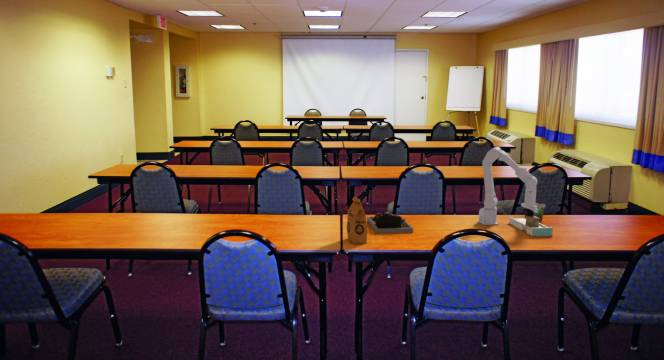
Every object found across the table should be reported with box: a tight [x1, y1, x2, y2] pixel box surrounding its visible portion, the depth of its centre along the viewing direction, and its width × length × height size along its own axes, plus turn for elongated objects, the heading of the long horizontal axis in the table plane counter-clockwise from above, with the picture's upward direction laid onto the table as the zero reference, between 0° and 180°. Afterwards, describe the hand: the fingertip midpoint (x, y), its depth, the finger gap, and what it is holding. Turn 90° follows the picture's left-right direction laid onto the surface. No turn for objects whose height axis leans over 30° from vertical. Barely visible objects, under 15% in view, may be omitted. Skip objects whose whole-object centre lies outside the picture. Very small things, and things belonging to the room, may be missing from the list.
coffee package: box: [346, 196, 368, 245], centre depth 260 cm, size 10×12×22 cm
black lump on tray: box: [373, 211, 406, 229], centre depth 284 cm, size 18×12×10 cm
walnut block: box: [526, 216, 540, 227], centre depth 282 cm, size 5×5×5 cm
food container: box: [533, 202, 547, 221], centre depth 306 cm, size 12×6×10 cm, turn 42°
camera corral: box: [366, 216, 414, 235], centre depth 289 cm, size 20×26×2 cm
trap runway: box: [508, 216, 554, 237], centre depth 285 cm, size 11×27×4 cm, turn 8°
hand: (528, 222), depth 287 cm, fingers closed
